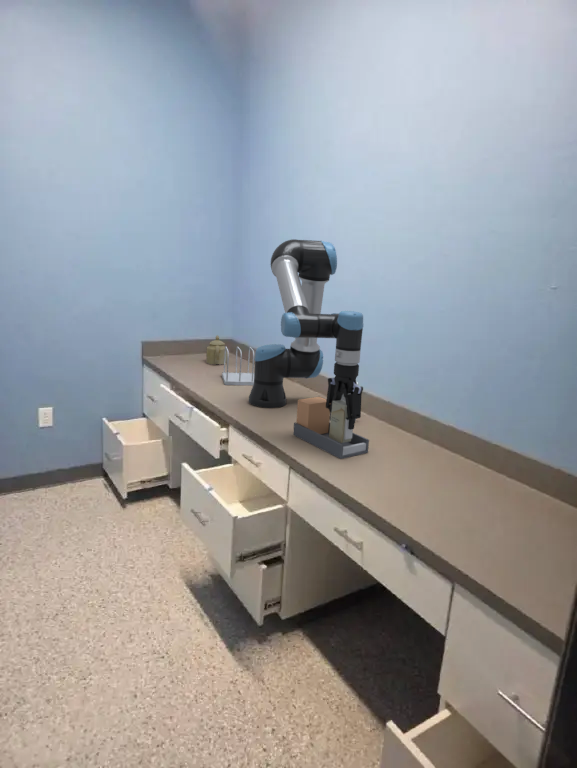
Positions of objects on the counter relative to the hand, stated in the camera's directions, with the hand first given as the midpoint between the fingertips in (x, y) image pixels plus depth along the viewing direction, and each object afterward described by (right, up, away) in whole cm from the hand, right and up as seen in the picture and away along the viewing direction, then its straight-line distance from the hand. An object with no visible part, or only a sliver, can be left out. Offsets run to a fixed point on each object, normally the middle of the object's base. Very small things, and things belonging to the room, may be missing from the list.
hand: (340, 435), depth 165 cm
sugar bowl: (-54, +27, +115) cm, 130 cm away
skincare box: (0, -2, 0) cm, 2 cm away
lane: (-3, -3, +5) cm, 7 cm away
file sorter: (-34, +17, +82) cm, 91 cm away
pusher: (-8, 0, +12) cm, 14 cm away
